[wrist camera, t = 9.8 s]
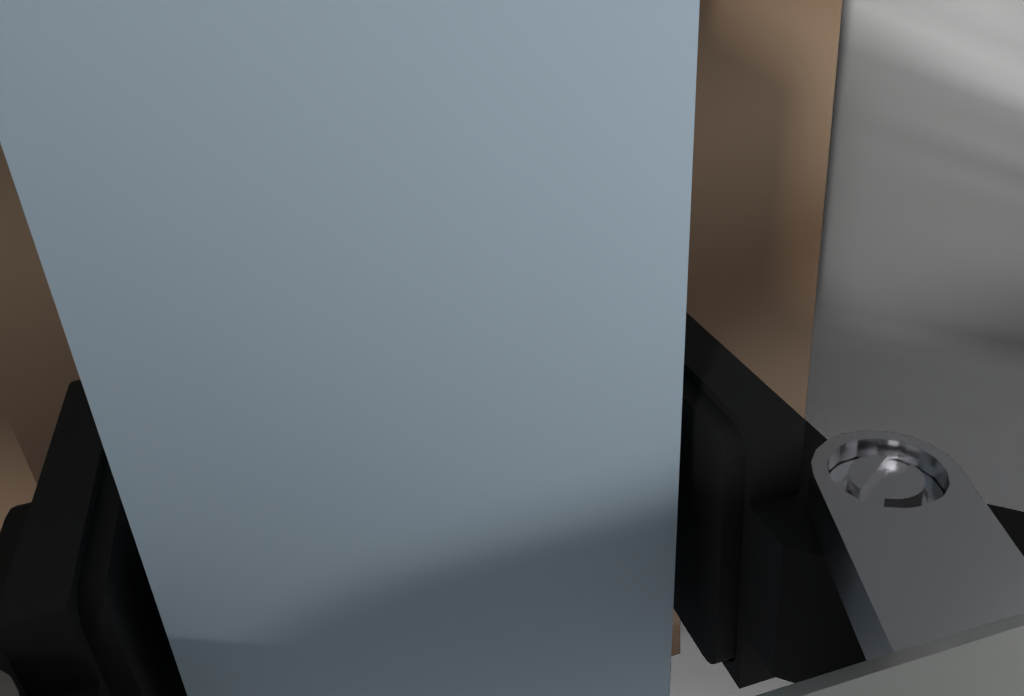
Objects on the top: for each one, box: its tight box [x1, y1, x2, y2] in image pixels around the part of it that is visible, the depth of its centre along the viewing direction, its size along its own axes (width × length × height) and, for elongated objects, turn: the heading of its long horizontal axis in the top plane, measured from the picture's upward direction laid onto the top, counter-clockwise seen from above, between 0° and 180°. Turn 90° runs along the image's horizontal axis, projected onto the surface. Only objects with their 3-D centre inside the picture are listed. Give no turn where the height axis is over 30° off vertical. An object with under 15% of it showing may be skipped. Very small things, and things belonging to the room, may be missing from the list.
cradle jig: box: [0, 0, 843, 656], centre depth 13 cm, size 15×16×2 cm
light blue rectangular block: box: [0, 0, 700, 696], centre depth 11 cm, size 12×4×6 cm, turn 3°
